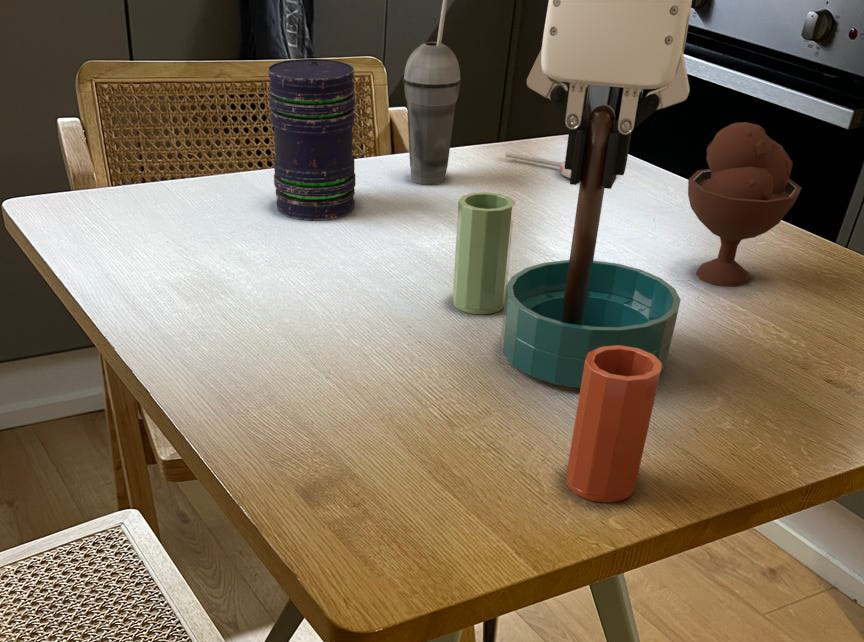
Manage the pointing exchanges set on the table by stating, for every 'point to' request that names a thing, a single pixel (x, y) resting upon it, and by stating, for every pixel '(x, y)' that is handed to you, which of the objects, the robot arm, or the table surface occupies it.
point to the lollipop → (542, 162)
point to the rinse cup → (482, 252)
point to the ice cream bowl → (740, 195)
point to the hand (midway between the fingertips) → (593, 179)
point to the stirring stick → (587, 215)
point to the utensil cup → (612, 422)
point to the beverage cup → (431, 107)
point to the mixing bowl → (603, 324)
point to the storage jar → (313, 137)
